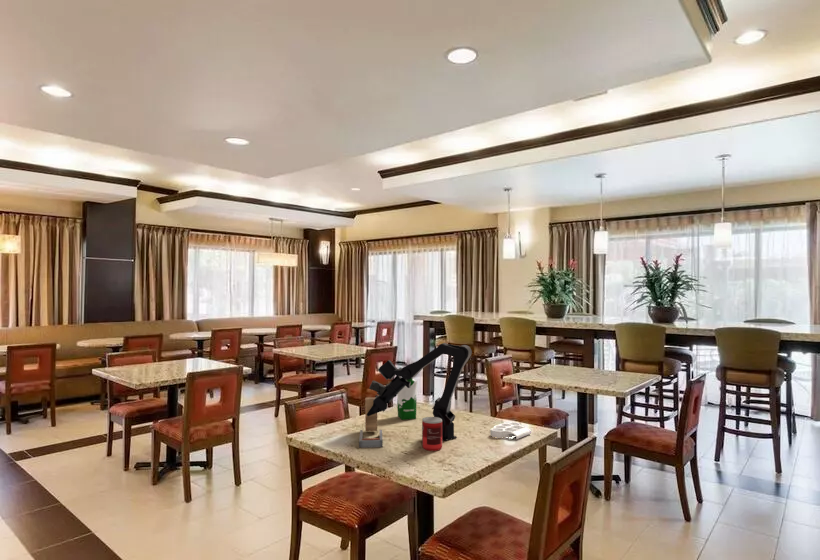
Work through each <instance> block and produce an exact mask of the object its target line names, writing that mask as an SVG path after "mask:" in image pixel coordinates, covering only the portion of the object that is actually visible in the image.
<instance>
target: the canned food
mask: <svg viewBox="0 0 820 560" xmlns="http://www.w3.org/2000/svg"><path fill="white" fill-rule="evenodd" d="M421 420H422V421H421V440H422V441H421V443H422V444H421V445H422V449H423V450H425V451H430V452H437V451H441V450H442V448H443V440H442V419H441V418H438V417H434V416H426V417H423V418H422V419H421Z"/></svg>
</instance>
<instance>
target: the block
mask: <svg viewBox="0 0 820 560" xmlns="http://www.w3.org/2000/svg"><path fill="white" fill-rule="evenodd" d="M375 398H376V397H365V403H364V404H365V407H364V408H365V418H364V420H365V421H364V422H365V430H364V431H365V432H378V413H375V414H373V415H370V416H367V413H368V412H369V410H370V409H371V407H372V406H373V400H374V399H375Z"/></svg>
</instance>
